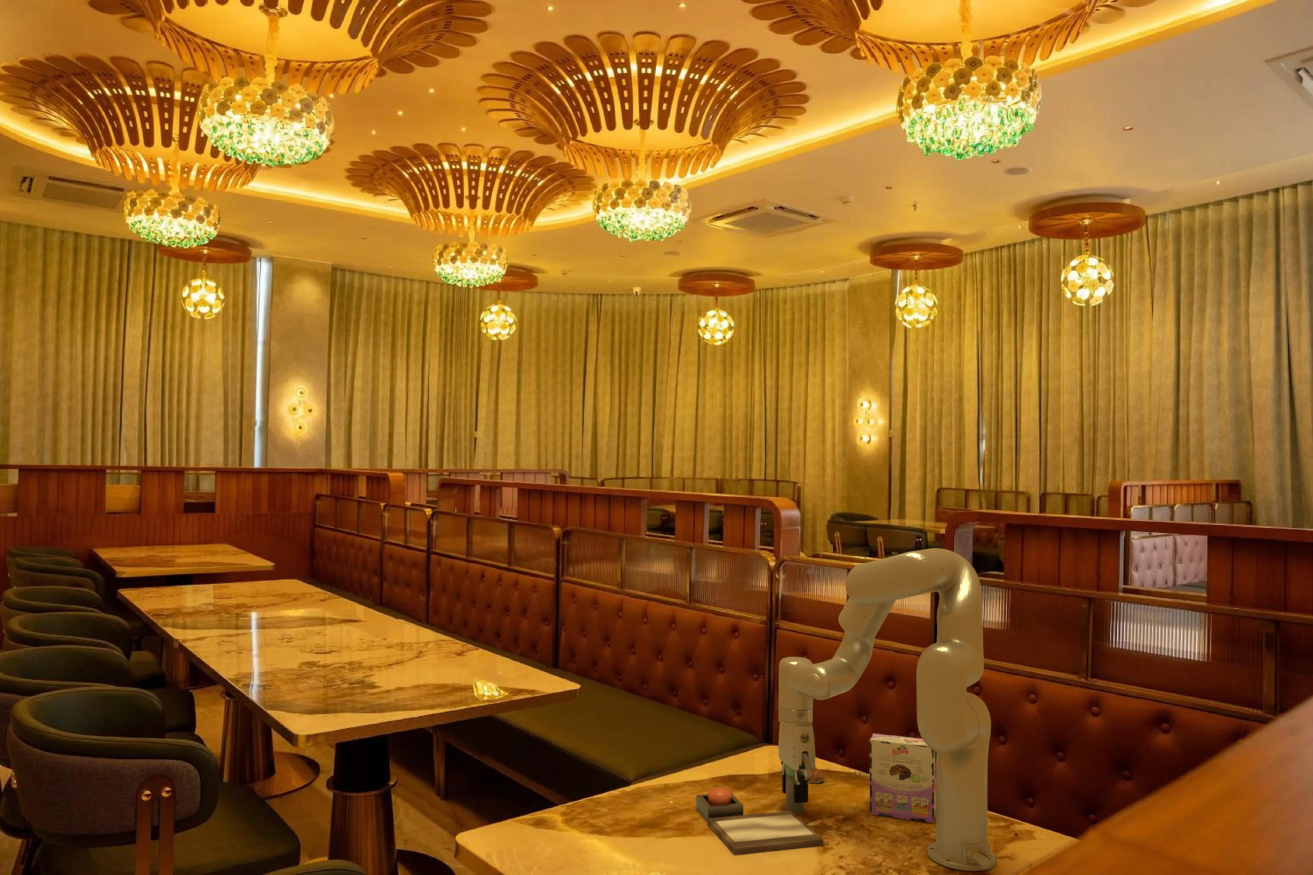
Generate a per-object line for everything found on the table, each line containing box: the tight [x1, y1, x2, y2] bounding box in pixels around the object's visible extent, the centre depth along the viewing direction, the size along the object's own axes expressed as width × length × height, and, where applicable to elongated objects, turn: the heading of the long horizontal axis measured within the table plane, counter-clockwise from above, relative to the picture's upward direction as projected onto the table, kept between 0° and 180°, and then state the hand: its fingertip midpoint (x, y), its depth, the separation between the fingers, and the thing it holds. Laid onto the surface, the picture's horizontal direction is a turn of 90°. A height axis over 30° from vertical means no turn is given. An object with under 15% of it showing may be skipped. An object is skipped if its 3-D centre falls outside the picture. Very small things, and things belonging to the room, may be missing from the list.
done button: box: [707, 786, 732, 806], centre depth 196 cm, size 5×5×2 cm
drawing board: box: [706, 810, 824, 856], centre depth 185 cm, size 16×19×1 cm
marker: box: [785, 765, 805, 815], centre depth 199 cm, size 4×4×10 cm
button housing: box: [695, 792, 744, 821], centre depth 196 cm, size 8×8×3 cm
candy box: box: [868, 733, 936, 824], centre depth 197 cm, size 14×6×16 cm, turn 69°
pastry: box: [809, 766, 825, 784], centre depth 220 cm, size 9×7×4 cm
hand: (795, 796), depth 199 cm, fingers open, 5 cm apart
